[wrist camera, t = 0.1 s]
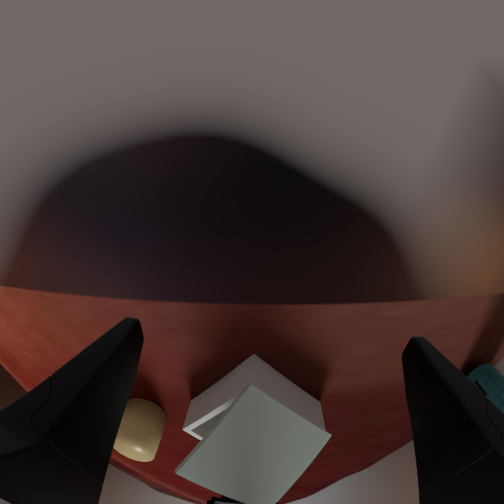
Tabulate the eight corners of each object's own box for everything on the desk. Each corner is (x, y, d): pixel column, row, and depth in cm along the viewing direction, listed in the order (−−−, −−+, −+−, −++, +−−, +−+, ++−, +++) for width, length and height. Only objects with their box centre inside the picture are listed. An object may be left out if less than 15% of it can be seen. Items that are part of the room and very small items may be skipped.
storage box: (255, 440, 31) (254, 468, 27) (191, 400, 29) (182, 429, 25) (320, 401, 29) (325, 431, 24) (254, 353, 27) (252, 384, 23)
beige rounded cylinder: (153, 431, 32) (140, 465, 26) (118, 408, 31) (101, 440, 25) (175, 417, 30) (163, 454, 25) (138, 391, 30) (120, 427, 24)
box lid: (265, 508, 21) (268, 511, 20) (174, 470, 19) (175, 473, 18) (328, 433, 24) (331, 435, 24) (248, 381, 23) (251, 383, 22)
